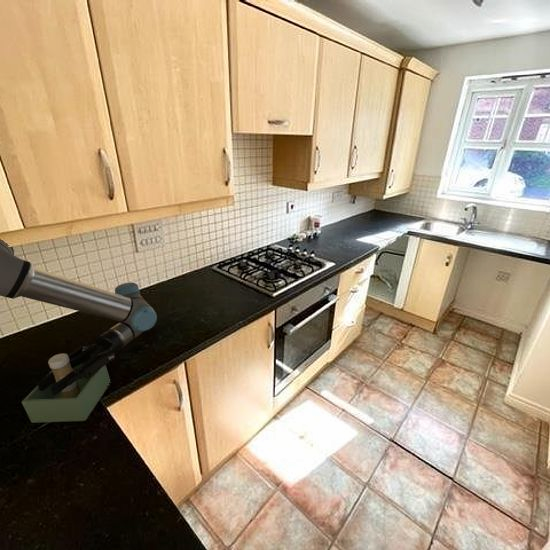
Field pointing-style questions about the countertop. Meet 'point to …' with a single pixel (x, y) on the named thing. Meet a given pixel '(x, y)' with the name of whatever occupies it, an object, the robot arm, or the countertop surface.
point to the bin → (67, 400)
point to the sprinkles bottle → (63, 374)
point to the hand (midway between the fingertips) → (46, 389)
